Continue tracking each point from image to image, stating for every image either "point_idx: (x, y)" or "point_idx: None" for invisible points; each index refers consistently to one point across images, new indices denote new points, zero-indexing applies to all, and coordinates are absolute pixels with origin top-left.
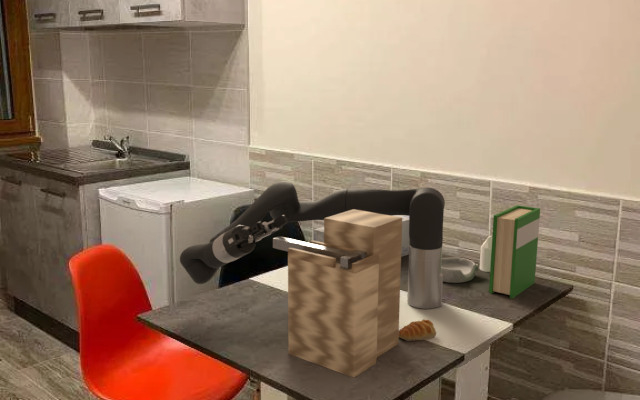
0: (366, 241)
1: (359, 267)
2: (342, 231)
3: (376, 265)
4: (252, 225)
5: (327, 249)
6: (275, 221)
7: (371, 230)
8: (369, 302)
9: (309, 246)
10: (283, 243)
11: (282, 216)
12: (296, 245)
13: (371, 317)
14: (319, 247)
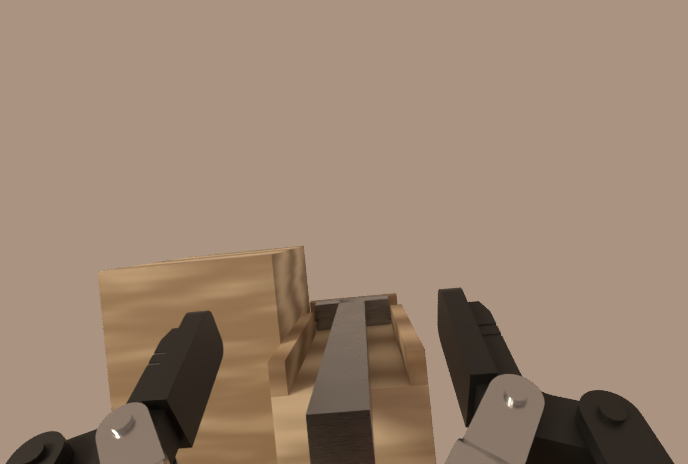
0: (304, 282)
1: None
2: (290, 279)
3: None
4: (482, 338)
5: (356, 315)
6: (181, 394)
7: (303, 253)
8: None
9: (365, 329)
10: (369, 390)
11: (207, 317)
12: (367, 355)
13: None
14: (353, 323)
